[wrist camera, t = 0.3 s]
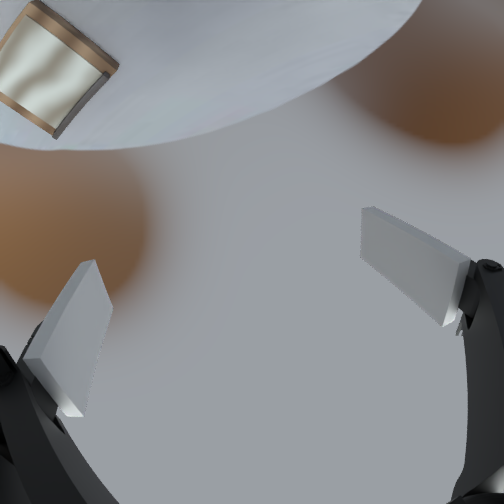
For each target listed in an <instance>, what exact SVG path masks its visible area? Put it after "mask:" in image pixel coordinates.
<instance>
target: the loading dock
mask: <svg viewBox="0 0 504 504" xmlns="http://www.w3.org/2000/svg"><path fill="white" fill-rule="evenodd" d="M118 67H119V64H118V63H117V62H116V61H115V60H114V59H113V58H111V57H110V56H109V55H108V54H107V53H105V52H104V51H103V50H102V49H101V48H99V47H98V46H97V45H96V44H95V43H93V42H92V41H91V40H90V39H89V38H87V37H86V36H85V35H84V34H82V33H81V32H80V31H79V30H77V29H76V28H75V27H74V26H72V25H71V24H70V23H68V22H67V21H66V20H65V19H63V18H62V17H61V16H59V15H58V14H57V13H55V12H54V11H53V10H51V9H50V8H49V7H47V6H46V5H45V4H43V3H42V2H41V1H39V0H34V1H31V2H29V3H28V4H27V6H26V7H25V8H24V9H23V11H22V12H21V13H20V15H19V16H18V17H17V19H16V20H15V21H14V23H13V24H12V26H11V27H10V28H9V30H8V31H7V33H6V34H5V36H4V37H3V39H2V40H1V42H0V101H1V102H3V103H4V104H6V105H7V106H9V107H10V108H12V109H13V110H15V111H16V112H18V113H19V114H21V115H22V116H24V117H25V118H27V119H28V120H30V121H31V122H33V123H34V124H36V125H37V126H39V127H40V128H42V129H43V130H45V131H46V132H48V133H49V134H51V135H52V137H53V138H54V139H56V140H57V139H58V138H59V136H60V135H61V134H62V132H63V131H64V130H65V128H66V127H67V126H68V125H69V123H70V122H71V121H72V120H73V119H74V117H75V116H76V115H77V114H78V113H79V111H80V110H81V109H82V108H83V107H84V106H85V104H86V103H87V102H88V101H89V100H90V99H91V98H92V97H93V95H94V94H95V93H96V92H97V91H98V90H99V89H100V88H101V87H102V86H103V85H104V84H105V83H106V82H107V81H108V80H109V78H110V77H111V76H112V75H113V74H114V73H115V72H116V71H117V69H118Z"/></svg>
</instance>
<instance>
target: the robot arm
mask: <svg viewBox="0 0 504 504" xmlns="http://www.w3.org/2000/svg"><path fill="white" fill-rule="evenodd" d="M360 257H361V258H362V259H363V260H364V261H365V262H367V263H368V264H369V265H370V266H372V267H373V268H374V269H375V270H376V271H378V272H379V273H380V274H382V275H383V276H384V277H385V278H386V279H387V280H389V281H390V282H391V283H392V284H393V285H395V286H396V287H397V288H398V289H399V290H401V291H402V292H403V293H404V294H405V295H406V296H407V297H409V298H410V299H411V300H412V301H414V302H415V303H416V304H417V305H418V306H419V307H420V308H421V309H422V310H424V311H425V312H426V313H427V314H428V315H429V316H430V317H431V318H432V319H434V320H435V321H436V322H437V323H438V324H439V325H440V326H441V327H443V326H445V325H447V324H449V323H451V322H453V321H454V320H455V316H456V313H457V310H458V308H460V309H461V310H462V311H463V314H462V317H461V320H460V323H459V326H458V329H457V331H456V335H458V334H459V332H460V331H461V330H463V333H462V336H463V337H464V346H465V355H466V368H467V387H468V425H467V443H466V454H465V464H464V468H463V471H462V473H461V475H460V477H459V479H458V480H457V482H456V484H455V487H454V490H453V494H452V498H451V501H450V502H448V503H447V504H504V493H501V492H502V491H503V490H504V268H503V267H502V266H501V264H499V263H497V262H495V261H493V260H488V259H482V260H479V261H478V262H477V263H476V262H474V261H472V260H471V259H470V258H469V257H467V256H466V255H464V254H462V253H461V252H459V251H457V250H456V249H454V248H452V247H450V246H449V245H447V244H445V243H443V242H441V241H440V240H438V239H436V238H434V237H432V236H431V235H429V234H427V233H425V232H423V231H421V230H419V229H418V228H416V227H414V226H412V225H410V224H408V223H406V222H404V221H402V220H400V219H398V218H396V217H394V216H392V215H390V214H388V213H386V212H384V211H382V210H380V209H378V208H376V207H367V208H362V221H361V251H360ZM112 312H113V306H112V304H111V302H110V299H109V296H108V294H107V292H106V289H105V286H104V284H103V281H102V278H101V276H100V273H99V270H98V267H97V265H96V262H95V259H94V260H90V261H85V262H81V264H80V265H79V266H78V268H77V269H76V271H75V272H74V274H73V275H72V277H71V278H70V280H69V281H68V282H67V284H66V285H65V287H64V288H63V290H62V292H61V293H60V295H59V296H58V298H57V299H56V301H55V303H54V304H53V306H52V307H51V309H50V311H49V312H48V314H47V316H46V318H45V319H44V320H43V321H42V322H41V323H40V324H39V325H38V326H37V327H36V329H35V330H34V332H33V334H32V335H31V338H30V339H29V341H28V345H26V346H25V348H24V350H23V352H22V354H21V356H20V358H19V360H18V362H17V364H16V363H15V362H14V360H13V359H12V357H11V356H10V354H9V352H8V351H7V349H6V348H5V346H1V345H0V504H119V503H118V502H117V501H116V499H115V498H114V497H113V496H112V495H111V493H110V492H109V491H108V490H107V488H106V487H105V486H104V485H103V484H102V482H101V481H100V480H99V478H98V477H97V475H96V474H95V473H94V472H93V470H92V469H91V467H90V466H89V464H88V463H87V462H86V460H85V459H84V457H83V456H82V454H81V453H80V451H79V450H78V448H77V446H76V445H75V443H74V442H73V440H72V439H71V437H70V435H69V434H68V432H67V430H66V429H65V427H64V425H63V423H62V421H61V420H60V419H59V418H58V417H57V415H56V411H57V407H59V408H60V409H61V410H62V411H63V412H64V414H65V415H66V416H68V417H70V416H71V417H84V415H85V411H86V405H87V401H88V396H89V392H90V388H91V384H92V380H93V376H94V372H95V368H96V364H97V361H98V357H99V353H100V350H101V347H102V343H103V340H104V337H105V334H106V330H107V327H108V324H109V321H110V318H111V315H112Z"/></svg>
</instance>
